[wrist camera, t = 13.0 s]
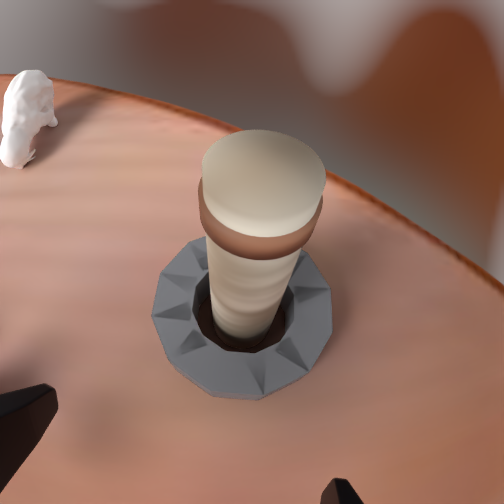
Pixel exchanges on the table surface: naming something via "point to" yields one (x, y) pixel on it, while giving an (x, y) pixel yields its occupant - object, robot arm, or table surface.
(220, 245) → the birch peg
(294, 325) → the grey ring
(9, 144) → the white animal statue
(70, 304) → the table surface
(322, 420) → the table surface
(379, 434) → the table surface
